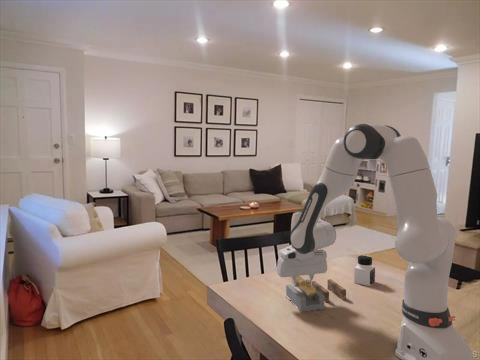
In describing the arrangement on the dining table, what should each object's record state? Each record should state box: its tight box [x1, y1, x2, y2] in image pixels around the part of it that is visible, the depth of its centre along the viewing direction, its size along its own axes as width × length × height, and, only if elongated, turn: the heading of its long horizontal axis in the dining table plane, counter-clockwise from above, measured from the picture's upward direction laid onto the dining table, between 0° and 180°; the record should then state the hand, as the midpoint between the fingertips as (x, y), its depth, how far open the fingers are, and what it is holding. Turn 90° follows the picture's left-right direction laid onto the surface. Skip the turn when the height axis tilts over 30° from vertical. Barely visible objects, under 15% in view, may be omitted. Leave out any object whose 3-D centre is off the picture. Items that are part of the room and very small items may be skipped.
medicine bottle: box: [353, 254, 376, 287], centre depth 156 cm, size 7×7×12 cm
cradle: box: [285, 284, 325, 312], centre depth 136 cm, size 14×10×5 cm
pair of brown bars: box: [311, 278, 347, 303], centre depth 143 cm, size 12×9×4 cm
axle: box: [291, 276, 317, 298], centre depth 136 cm, size 14×4×4 cm, turn 15°
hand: (302, 285), depth 137 cm, fingers closed on axle, 4 cm apart
